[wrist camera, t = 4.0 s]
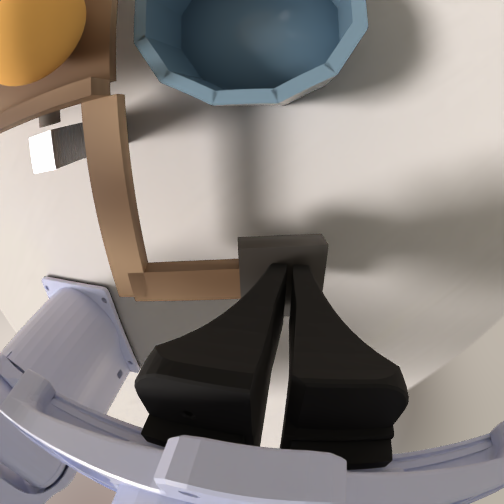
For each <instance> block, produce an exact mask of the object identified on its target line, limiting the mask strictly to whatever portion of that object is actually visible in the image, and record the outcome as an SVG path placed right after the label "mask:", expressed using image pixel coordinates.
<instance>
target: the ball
mask: <svg viewBox="0 0 504 504" xmlns="http://www.w3.org/2000/svg"><path fill="white" fill-rule="evenodd" d="M85 22H86V5H85V1H84V0H1V1H0V84H2V85H5V86H22V85H26V84H30V83H33V82H36V81H38V80H40V79H42V78H44V77H46V76H47V75H49V74H51V73H52V72H53V71H55V70H56V69H57V68H58V67H59V66H60V65H62V64H63V63H64V62H65V60H66V59H67V58H68V57H69V56H70V55H71V53H72V52H73V51H74V49H75V47H76V46H77V44H78V42H79V40H80V38H81V36H82V33H83V31H84V27H85Z"/></svg>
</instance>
